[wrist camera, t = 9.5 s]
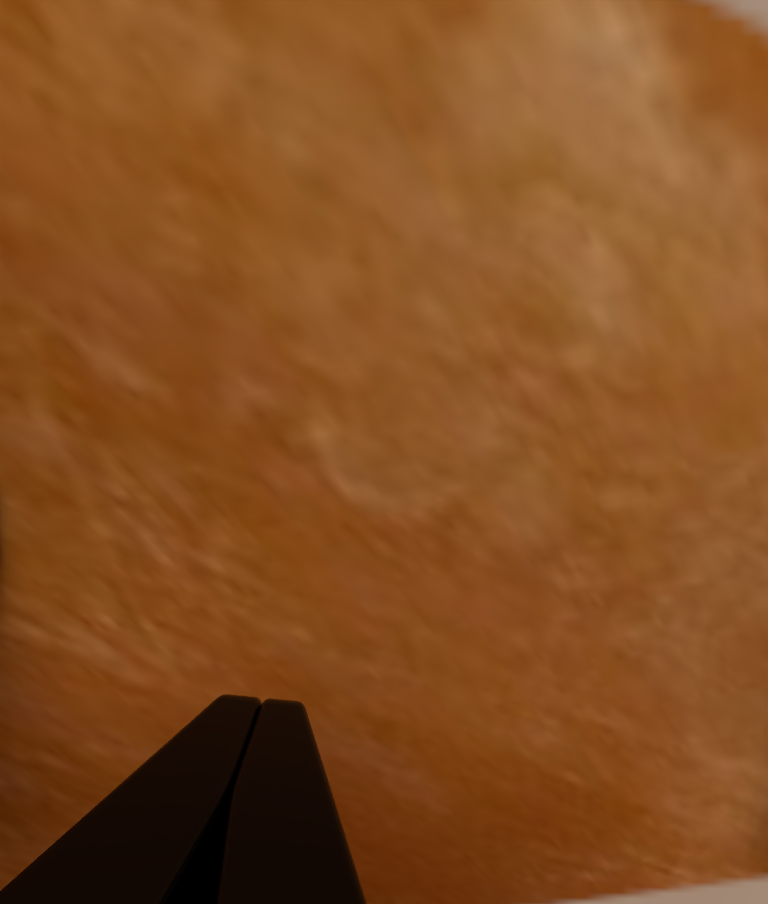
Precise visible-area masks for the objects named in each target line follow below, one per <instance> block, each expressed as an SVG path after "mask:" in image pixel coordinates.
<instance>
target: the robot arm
mask: <svg viewBox="0 0 768 904" xmlns="http://www.w3.org/2000/svg"><path fill="white" fill-rule="evenodd" d="M0 904H367V903H366V900H365V897H364V894H363V891H362V887H361V884H360V881H359V878H358V875H357V871H356V868H355V865H354V862H353V859H352V855H351V852H350V849H349V846H348V843H347V840H346V836H345V833H344V830H343V827H342V824H341V820H340V817H339V814H338V811H337V808H336V804H335V801H334V798H333V795H332V792H331V789H330V785H329V782H328V779H327V776H326V773H325V769H324V766H323V763H322V760H321V757H320V753H319V750H318V747H317V744H316V741H315V738H314V734H313V731H312V728H311V725H310V722H309V718H308V715H307V712H306V709H305V707H304V705H303V704H302V703H301V702H298V701H289V700H279V699H267V700H265V701H264V702H263V703H262V704H261V701H260V700H259V699H258V698H256V697H248V696H238V695H228V694H227V695H222V696H220V697H218V698H217V699H216V700H214V701H213V702H212V703H211V704H210V705H209V706H208V707H207V708H205V709H204V710H203V711H202V712H201V713H200V714H199V715H198V716H196V717H195V718H194V719H193V720H192V721H191V722H190V723H189V724H187V725H186V726H185V727H184V728H183V729H182V730H181V731H180V732H178V733H177V734H176V735H175V736H174V737H173V738H172V739H171V740H170V741H168V742H167V743H166V744H165V745H164V746H163V747H162V748H161V749H159V750H158V751H157V752H156V753H155V754H154V755H153V756H152V757H150V758H149V759H148V760H147V761H146V762H145V763H144V764H143V765H141V766H140V767H139V768H138V769H137V770H136V771H135V772H134V773H132V774H131V775H130V776H129V777H128V778H127V779H126V780H125V781H123V782H122V783H121V784H120V785H119V786H118V787H117V788H116V789H115V790H113V791H112V792H111V793H110V794H109V795H108V796H107V797H106V798H104V799H103V800H102V801H101V802H100V803H99V804H98V805H97V806H95V807H94V808H93V809H92V810H91V811H90V812H89V813H88V814H86V815H85V816H84V817H83V818H82V819H81V820H80V821H79V822H77V823H76V824H75V825H74V826H73V827H72V828H71V829H70V830H68V831H67V832H66V833H65V834H64V835H63V836H62V837H61V838H60V839H58V840H57V841H56V842H55V843H54V844H53V845H52V846H51V847H49V848H48V849H47V850H46V851H45V852H44V853H43V854H42V855H40V856H39V857H38V858H37V859H36V860H35V861H34V862H33V863H31V864H30V865H29V866H28V867H27V868H26V869H25V870H24V871H22V872H21V873H20V874H19V875H18V876H17V877H16V878H15V879H13V880H12V881H11V882H10V883H9V884H8V885H7V886H6V887H4V888H3V889H2V890H1V891H0Z"/></svg>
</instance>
